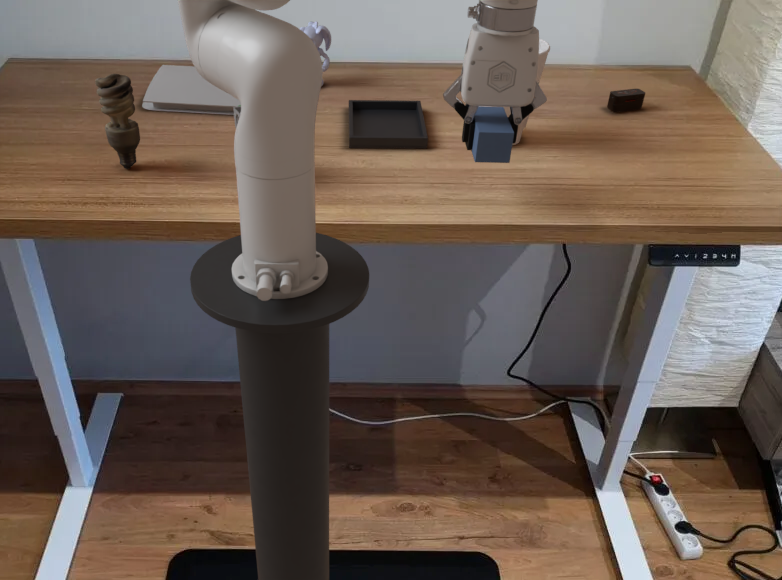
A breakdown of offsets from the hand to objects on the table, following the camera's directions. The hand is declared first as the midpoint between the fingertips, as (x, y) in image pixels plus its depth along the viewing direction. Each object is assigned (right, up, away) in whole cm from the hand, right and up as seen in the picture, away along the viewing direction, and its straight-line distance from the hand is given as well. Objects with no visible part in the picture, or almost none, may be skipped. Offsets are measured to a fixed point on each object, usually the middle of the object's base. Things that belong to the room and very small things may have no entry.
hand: (487, 145), depth 119 cm
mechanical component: (-36, -2, +10) cm, 37 cm away
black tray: (-14, +11, +25) cm, 31 cm away
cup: (+6, +8, +22) cm, 25 cm away
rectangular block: (0, 0, 0) cm, 0 cm away
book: (-47, +20, +36) cm, 63 cm away
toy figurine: (-27, +25, +42) cm, 56 cm away
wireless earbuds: (+33, +17, +34) cm, 50 cm away
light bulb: (-57, 0, +13) cm, 58 cm away
